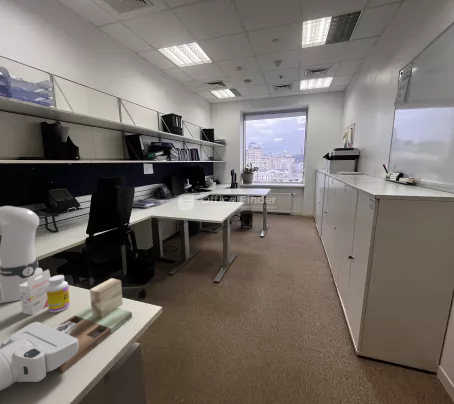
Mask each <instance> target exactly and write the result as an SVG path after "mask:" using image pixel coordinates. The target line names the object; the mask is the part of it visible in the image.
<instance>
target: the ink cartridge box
mask: <svg viewBox="0 0 454 404" xmlns="http://www.w3.org/2000/svg"><path fill="white" fill-rule="evenodd" d="M50 278H51V274H50V269H46V270H43V271H42V272H41V273H39V274H36V275H34V276H32V277H30V278H28V279H27V282H25V283H23V284H21V285H19V292H20V299H21V300H20V303H21V311H22V314H24V315H30V316H32V315H35V314H37V313H38V312H40V311H42V310H43V309H45V308H46V307H48V298H47V290H46V289H47V287H48V285H50V283H49V279H50Z"/></svg>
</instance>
